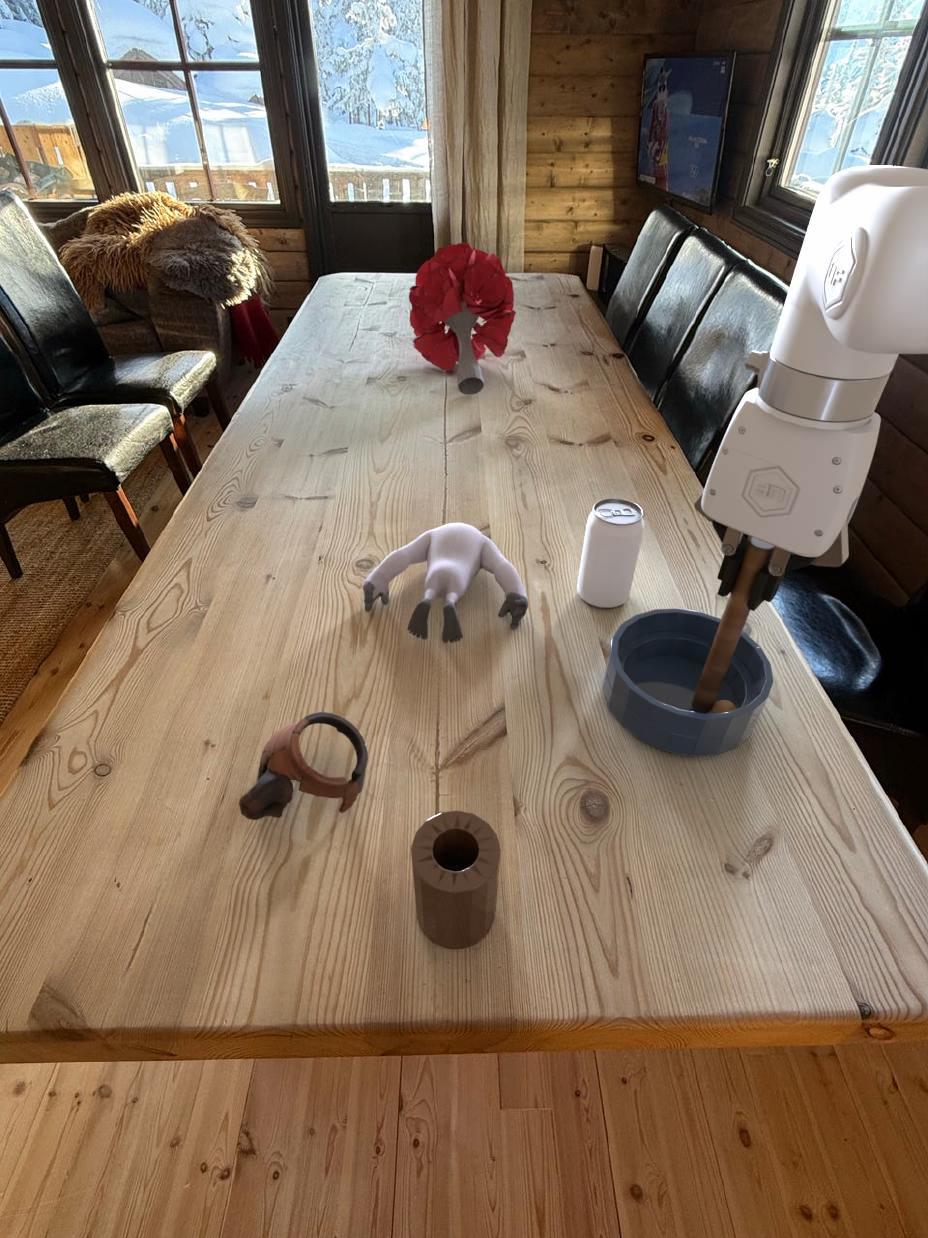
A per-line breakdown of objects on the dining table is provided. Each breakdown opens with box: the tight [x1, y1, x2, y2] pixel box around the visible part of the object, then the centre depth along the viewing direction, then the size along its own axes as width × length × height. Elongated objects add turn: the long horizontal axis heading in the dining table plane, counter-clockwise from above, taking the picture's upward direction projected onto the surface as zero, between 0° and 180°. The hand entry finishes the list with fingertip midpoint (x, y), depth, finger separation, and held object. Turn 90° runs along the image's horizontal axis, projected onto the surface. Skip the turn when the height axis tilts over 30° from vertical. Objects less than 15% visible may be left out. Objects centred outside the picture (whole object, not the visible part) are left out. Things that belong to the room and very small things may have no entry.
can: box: [576, 497, 645, 609], centre depth 78 cm, size 6×6×12 cm
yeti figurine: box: [362, 522, 529, 644], centre depth 80 cm, size 20×7×20 cm
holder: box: [410, 809, 502, 950], centre depth 49 cm, size 6×6×9 cm
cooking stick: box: [692, 536, 776, 713], centre depth 60 cm, size 2×2×20 cm
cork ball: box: [711, 700, 737, 713], centre depth 65 cm, size 2×2×2 cm
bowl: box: [602, 607, 774, 757], centre depth 67 cm, size 15×15×6 cm
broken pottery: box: [238, 711, 369, 821], centre depth 58 cm, size 12×10×8 cm
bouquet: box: [408, 242, 517, 396], centre depth 131 cm, size 22×24×30 cm
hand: (743, 594), depth 57 cm, fingers closed on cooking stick, 2 cm apart
